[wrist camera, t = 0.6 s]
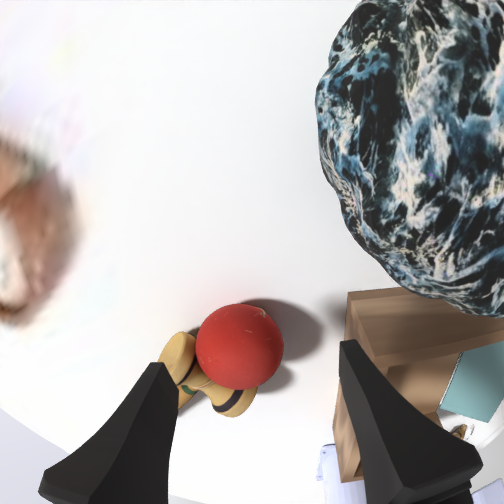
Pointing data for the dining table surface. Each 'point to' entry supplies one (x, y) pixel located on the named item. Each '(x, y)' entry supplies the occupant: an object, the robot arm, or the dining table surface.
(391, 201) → the decorative stone
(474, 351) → the lid
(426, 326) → the crate
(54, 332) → the dining table surface
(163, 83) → the dining table surface
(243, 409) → the kendama
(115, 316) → the dining table surface
